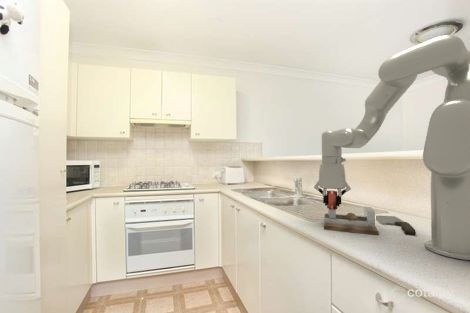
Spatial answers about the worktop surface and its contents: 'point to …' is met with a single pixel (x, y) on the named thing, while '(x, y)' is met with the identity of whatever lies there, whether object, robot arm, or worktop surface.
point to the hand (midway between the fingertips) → (332, 205)
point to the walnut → (351, 216)
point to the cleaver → (397, 224)
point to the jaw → (332, 203)
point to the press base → (352, 229)
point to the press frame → (361, 221)
